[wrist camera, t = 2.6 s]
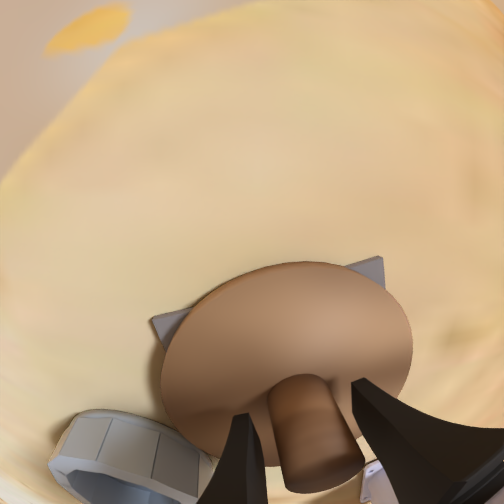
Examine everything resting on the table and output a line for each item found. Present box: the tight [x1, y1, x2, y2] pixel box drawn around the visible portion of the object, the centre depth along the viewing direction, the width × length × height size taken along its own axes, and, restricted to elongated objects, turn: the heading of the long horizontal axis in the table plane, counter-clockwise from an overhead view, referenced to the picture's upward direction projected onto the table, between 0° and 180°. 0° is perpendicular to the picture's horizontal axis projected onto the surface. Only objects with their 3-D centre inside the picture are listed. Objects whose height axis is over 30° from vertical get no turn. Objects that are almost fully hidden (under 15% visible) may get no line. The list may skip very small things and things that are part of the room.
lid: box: [160, 261, 413, 494], centre depth 9 cm, size 12×12×6 cm
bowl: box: [47, 409, 214, 504], centre depth 11 cm, size 10×10×4 cm
